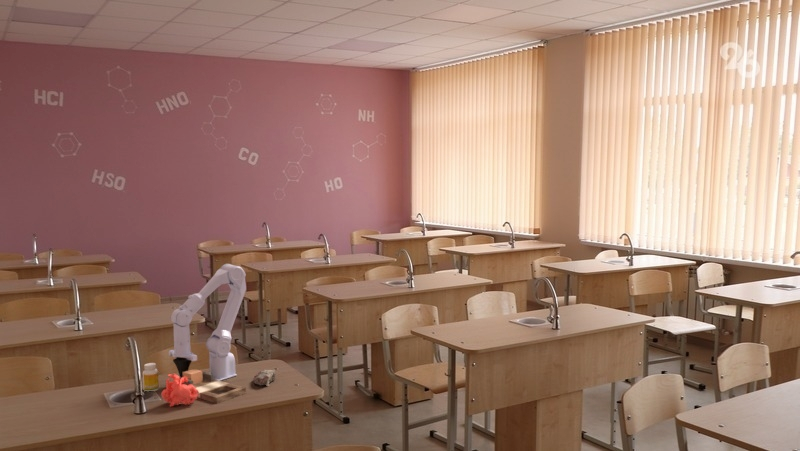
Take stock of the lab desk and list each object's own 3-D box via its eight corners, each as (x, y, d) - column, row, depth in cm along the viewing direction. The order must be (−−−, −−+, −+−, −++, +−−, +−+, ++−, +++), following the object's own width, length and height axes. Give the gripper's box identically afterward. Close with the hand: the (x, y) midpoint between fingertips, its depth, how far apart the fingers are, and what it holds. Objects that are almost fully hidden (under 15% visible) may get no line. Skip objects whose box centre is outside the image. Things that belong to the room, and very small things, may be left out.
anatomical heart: (199, 409, 233) (198, 379, 229) (162, 414, 229) (161, 384, 225) (197, 395, 241) (196, 366, 237) (161, 399, 237) (160, 370, 233)
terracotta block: (194, 379, 255) (193, 368, 255) (202, 381, 252) (202, 370, 252) (182, 382, 251) (182, 372, 251) (191, 385, 248) (191, 374, 248)
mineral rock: (260, 376, 266) (260, 364, 265) (280, 376, 264) (280, 365, 264) (246, 388, 251) (246, 376, 251) (267, 388, 250) (267, 377, 249)
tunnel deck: (196, 379, 261) (195, 368, 260) (246, 393, 244) (245, 380, 244) (167, 389, 250) (166, 377, 250) (217, 403, 234) (216, 390, 234)
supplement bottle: (141, 389, 250) (140, 364, 249) (155, 386, 253) (154, 361, 252) (146, 393, 246) (145, 367, 245) (161, 390, 249) (159, 364, 248)
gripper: (160, 340, 255) (162, 376, 256) (185, 346, 246) (186, 383, 247) (177, 337, 260) (178, 371, 261) (201, 342, 252) (202, 378, 253)
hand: (183, 377), depth 255 cm, fingers closed
